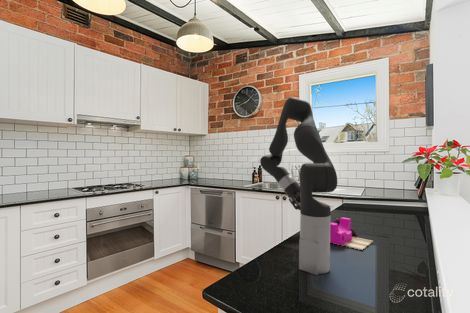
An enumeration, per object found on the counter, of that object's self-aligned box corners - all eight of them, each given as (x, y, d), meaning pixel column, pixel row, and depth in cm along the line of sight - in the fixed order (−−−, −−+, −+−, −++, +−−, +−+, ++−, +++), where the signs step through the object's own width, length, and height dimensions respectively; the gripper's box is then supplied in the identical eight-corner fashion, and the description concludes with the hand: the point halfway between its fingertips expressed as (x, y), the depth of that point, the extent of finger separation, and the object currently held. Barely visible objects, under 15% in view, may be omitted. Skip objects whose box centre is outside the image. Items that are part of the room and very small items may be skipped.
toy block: (340, 245, 106) (340, 226, 106) (325, 241, 110) (325, 223, 110) (356, 237, 116) (356, 219, 116) (342, 234, 121) (342, 217, 121)
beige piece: (361, 251, 102) (362, 217, 101) (303, 237, 118) (303, 208, 118) (373, 242, 112) (373, 211, 112) (318, 230, 128) (318, 203, 128)
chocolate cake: (364, 237, 121) (349, 214, 128) (358, 235, 116) (342, 212, 124) (347, 248, 124) (333, 225, 132) (340, 247, 120) (326, 223, 127)
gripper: (287, 182, 123) (309, 211, 116) (302, 180, 134) (324, 206, 126) (277, 192, 127) (298, 221, 119) (292, 189, 137) (313, 216, 130)
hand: (311, 214), depth 123 cm, fingers open, 8 cm apart
